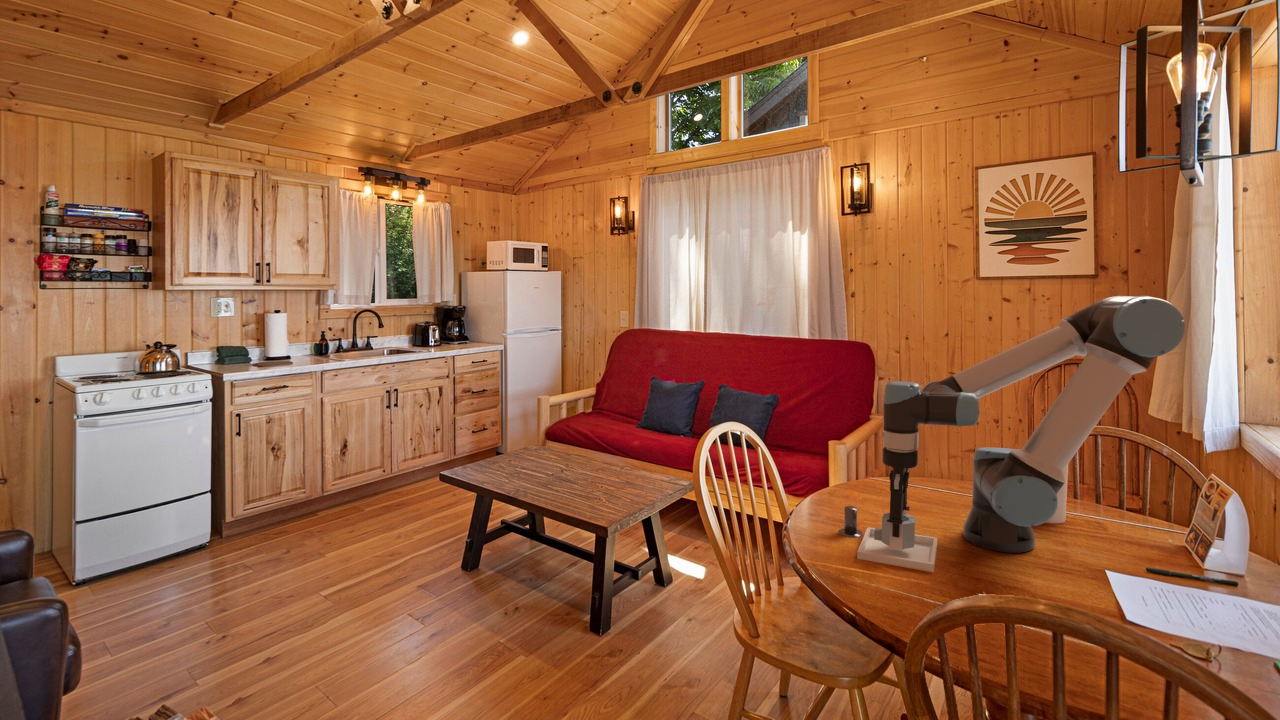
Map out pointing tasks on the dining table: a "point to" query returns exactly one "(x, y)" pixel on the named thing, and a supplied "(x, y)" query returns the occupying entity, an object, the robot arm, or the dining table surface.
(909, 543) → the grey socket block
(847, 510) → the post
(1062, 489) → the cup
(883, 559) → the tray
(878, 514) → the dining table surface
